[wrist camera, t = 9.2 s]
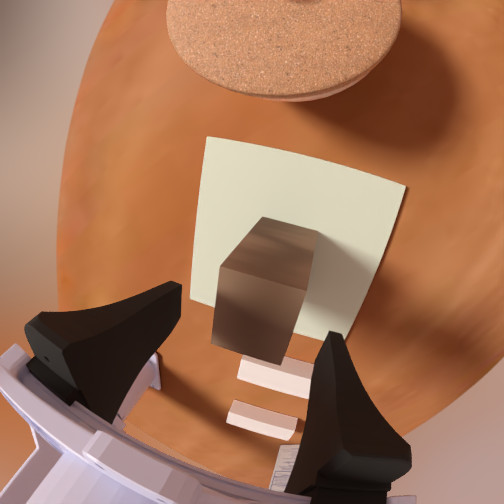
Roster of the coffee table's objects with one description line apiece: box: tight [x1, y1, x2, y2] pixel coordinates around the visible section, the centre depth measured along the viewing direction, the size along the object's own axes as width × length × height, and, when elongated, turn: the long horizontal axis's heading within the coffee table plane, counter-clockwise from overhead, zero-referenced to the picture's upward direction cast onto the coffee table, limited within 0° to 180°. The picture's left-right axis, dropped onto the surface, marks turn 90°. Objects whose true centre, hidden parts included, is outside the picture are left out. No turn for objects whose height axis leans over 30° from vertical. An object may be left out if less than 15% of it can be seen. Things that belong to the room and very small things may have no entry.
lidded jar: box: [166, 0, 402, 102], centre depth 10 cm, size 11×11×9 cm
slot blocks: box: [226, 355, 314, 441], centre depth 27 cm, size 8×13×2 cm, turn 170°
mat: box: [190, 136, 406, 341], centre depth 20 cm, size 14×14×1 cm
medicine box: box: [269, 444, 300, 492], centre depth 29 cm, size 8×4×9 cm, turn 23°
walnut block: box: [211, 216, 318, 366], centre depth 17 cm, size 4×5×8 cm
